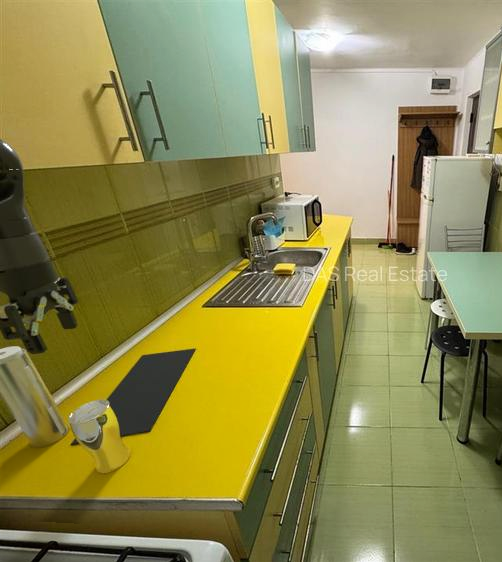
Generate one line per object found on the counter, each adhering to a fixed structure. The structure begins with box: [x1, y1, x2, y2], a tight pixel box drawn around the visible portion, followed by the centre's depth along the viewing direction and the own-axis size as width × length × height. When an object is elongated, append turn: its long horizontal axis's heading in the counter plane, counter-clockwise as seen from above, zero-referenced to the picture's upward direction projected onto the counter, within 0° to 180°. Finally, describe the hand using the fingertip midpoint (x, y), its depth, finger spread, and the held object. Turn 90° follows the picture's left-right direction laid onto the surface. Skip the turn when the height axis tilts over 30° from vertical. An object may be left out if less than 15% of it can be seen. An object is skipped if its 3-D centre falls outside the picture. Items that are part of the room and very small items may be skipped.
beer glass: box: [67, 399, 131, 474], centre depth 66 cm, size 7×7×15 cm
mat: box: [70, 347, 197, 446], centre depth 90 cm, size 17×36×1 cm, turn 13°
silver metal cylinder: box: [0, 345, 70, 449], centre depth 70 cm, size 6×6×25 cm
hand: (56, 339), depth 59 cm, fingers open, 8 cm apart
